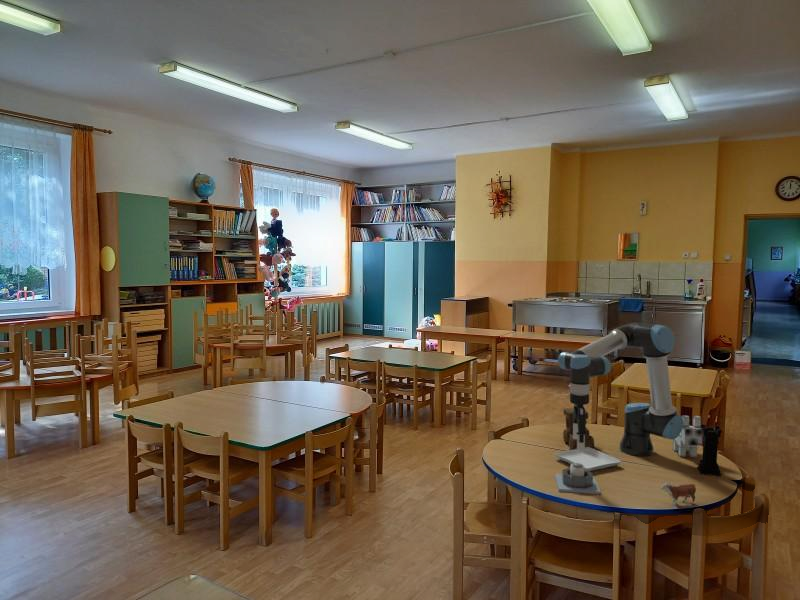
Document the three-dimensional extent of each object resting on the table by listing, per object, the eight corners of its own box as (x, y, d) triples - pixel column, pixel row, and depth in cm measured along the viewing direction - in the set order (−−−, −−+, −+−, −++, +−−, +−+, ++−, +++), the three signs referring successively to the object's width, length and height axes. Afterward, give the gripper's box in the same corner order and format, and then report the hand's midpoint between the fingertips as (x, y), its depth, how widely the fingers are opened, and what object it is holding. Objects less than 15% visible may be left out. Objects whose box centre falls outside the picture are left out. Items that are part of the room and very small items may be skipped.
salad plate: (586, 475, 247) (586, 467, 247) (553, 459, 266) (553, 452, 266) (622, 468, 256) (622, 460, 256) (588, 453, 275) (588, 446, 275)
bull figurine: (658, 501, 221) (659, 480, 220) (692, 500, 222) (693, 479, 221) (664, 506, 217) (665, 485, 216) (698, 505, 218) (699, 484, 217)
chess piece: (717, 469, 254) (719, 425, 253) (721, 476, 247) (723, 430, 245) (697, 467, 257) (699, 423, 255) (700, 473, 249) (702, 428, 248)
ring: (589, 478, 241) (589, 469, 240) (593, 489, 229) (594, 479, 229) (561, 476, 243) (561, 467, 242) (564, 487, 231) (564, 477, 231)
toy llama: (687, 448, 282) (688, 408, 280) (701, 461, 265) (703, 418, 263) (670, 448, 283) (672, 408, 281) (683, 460, 265) (685, 418, 264)
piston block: (593, 479, 243) (594, 459, 242) (600, 494, 227) (601, 473, 226) (554, 476, 245) (555, 456, 245) (558, 491, 230) (559, 470, 229)
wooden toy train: (560, 439, 295) (561, 407, 294) (583, 439, 295) (584, 407, 294) (572, 452, 275) (573, 418, 274) (595, 453, 275) (597, 418, 274)
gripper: (566, 385, 246) (565, 434, 248) (573, 400, 222) (572, 454, 223) (584, 386, 245) (583, 435, 247) (594, 401, 220) (593, 455, 222)
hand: (578, 444), depth 235 cm, fingers open, 13 cm apart
